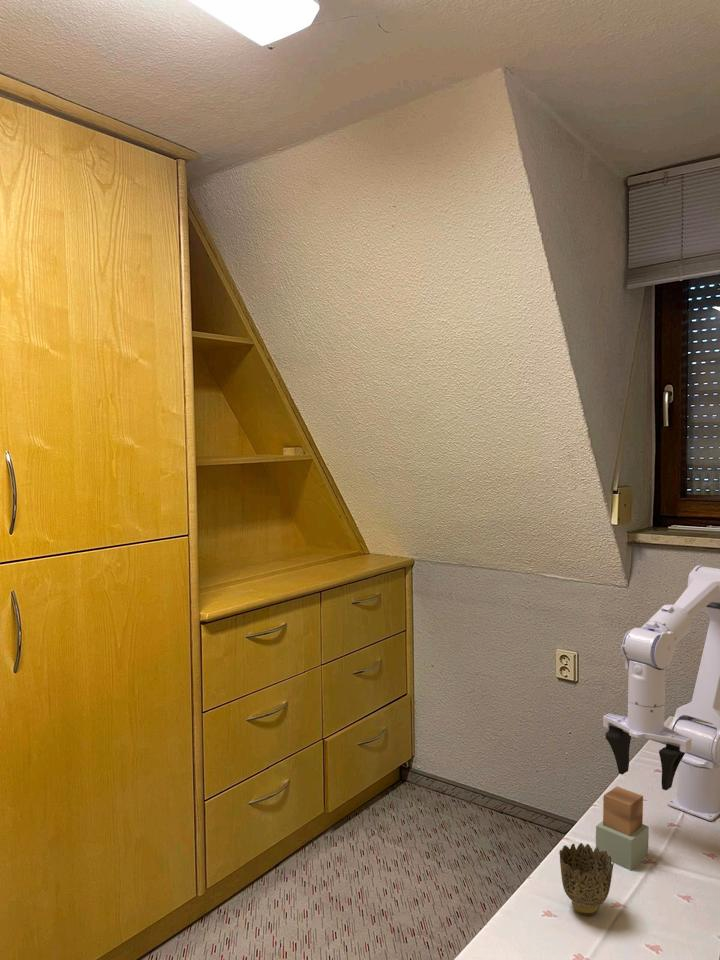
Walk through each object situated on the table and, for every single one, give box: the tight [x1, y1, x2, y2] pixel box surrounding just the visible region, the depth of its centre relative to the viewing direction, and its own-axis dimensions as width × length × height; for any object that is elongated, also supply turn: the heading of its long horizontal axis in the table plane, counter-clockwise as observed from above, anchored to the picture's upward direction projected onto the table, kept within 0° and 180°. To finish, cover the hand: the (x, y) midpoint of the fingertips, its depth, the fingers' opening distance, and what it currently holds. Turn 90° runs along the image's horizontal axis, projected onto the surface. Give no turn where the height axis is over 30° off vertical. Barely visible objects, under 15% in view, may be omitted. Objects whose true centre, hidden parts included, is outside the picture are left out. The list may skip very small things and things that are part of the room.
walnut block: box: [602, 785, 644, 836], centre depth 120 cm, size 4×4×5 cm
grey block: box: [595, 820, 650, 872], centre depth 120 cm, size 6×6×5 cm
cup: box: [558, 842, 615, 917], centre depth 106 cm, size 8×7×8 cm
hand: (644, 779), depth 125 cm, fingers open, 7 cm apart
